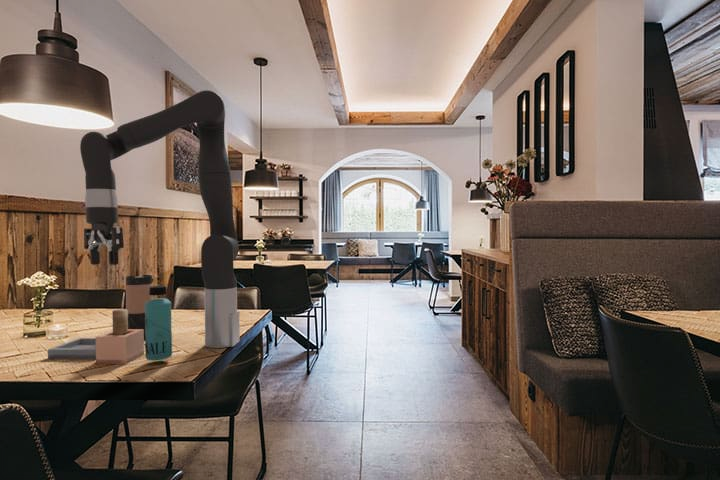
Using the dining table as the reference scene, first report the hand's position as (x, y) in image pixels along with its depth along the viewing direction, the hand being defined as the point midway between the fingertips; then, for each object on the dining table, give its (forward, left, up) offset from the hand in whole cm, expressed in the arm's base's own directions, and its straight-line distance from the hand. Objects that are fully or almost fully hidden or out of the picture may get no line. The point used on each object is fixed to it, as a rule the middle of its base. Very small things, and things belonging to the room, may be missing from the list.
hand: (104, 264), depth 112 cm
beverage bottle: (-19, +8, -25) cm, 33 cm away
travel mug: (0, -16, -25) cm, 30 cm away
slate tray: (+6, -1, -25) cm, 26 cm away
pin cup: (-7, +5, -25) cm, 26 cm away
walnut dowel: (-7, +5, -24) cm, 26 cm away
